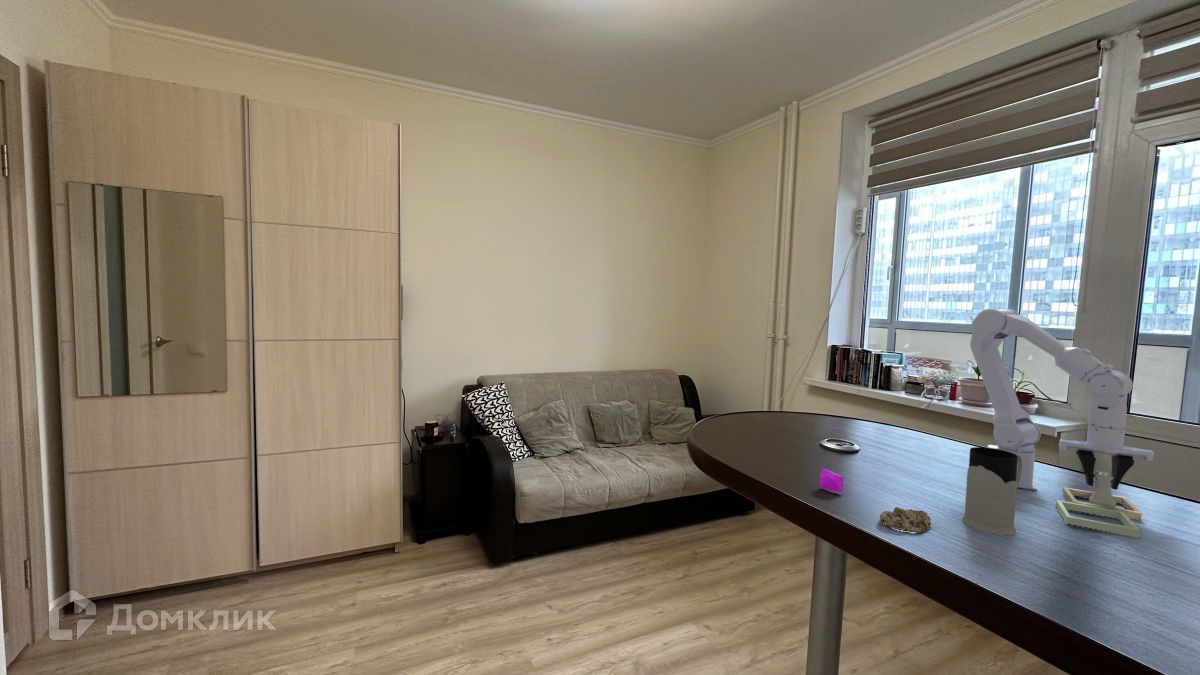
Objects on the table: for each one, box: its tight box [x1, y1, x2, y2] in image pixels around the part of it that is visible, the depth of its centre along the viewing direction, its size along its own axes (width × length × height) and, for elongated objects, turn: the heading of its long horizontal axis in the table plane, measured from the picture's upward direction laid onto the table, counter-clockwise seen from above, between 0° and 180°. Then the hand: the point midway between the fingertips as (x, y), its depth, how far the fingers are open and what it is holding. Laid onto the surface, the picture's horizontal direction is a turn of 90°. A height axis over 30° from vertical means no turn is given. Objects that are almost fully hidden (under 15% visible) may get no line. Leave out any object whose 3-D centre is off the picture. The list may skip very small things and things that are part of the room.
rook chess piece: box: [1088, 469, 1117, 508], centre depth 109 cm, size 4×4×8 cm
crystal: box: [819, 467, 845, 492], centre depth 117 cm, size 5×5×5 cm
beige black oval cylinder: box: [961, 446, 1022, 536], centre depth 100 cm, size 9×14×15 cm, turn 113°
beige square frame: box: [1062, 486, 1143, 521], centre depth 110 cm, size 10×10×2 cm
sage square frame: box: [1055, 499, 1141, 539], centre depth 102 cm, size 10×10×2 cm
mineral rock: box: [879, 506, 932, 534], centre depth 99 cm, size 11×4×8 cm
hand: (1101, 486), depth 109 cm, fingers closed on rook chess piece, 3 cm apart
